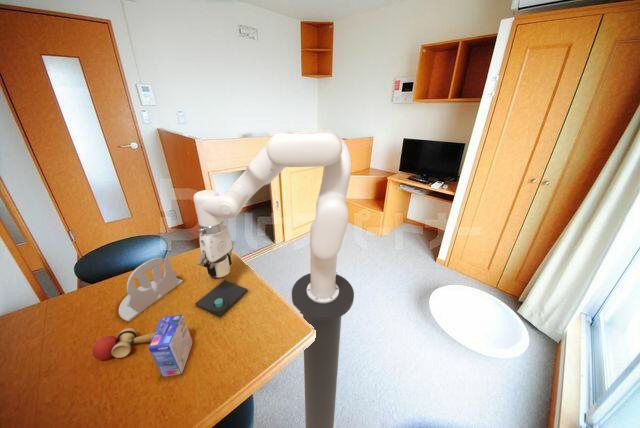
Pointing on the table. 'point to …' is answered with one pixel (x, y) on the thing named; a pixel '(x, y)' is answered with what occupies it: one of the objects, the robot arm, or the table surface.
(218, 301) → the button
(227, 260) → the beige cup
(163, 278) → the ornament
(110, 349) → the kendama
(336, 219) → the robot arm
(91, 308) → the table surface
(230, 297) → the scale
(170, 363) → the ink cartridge box
